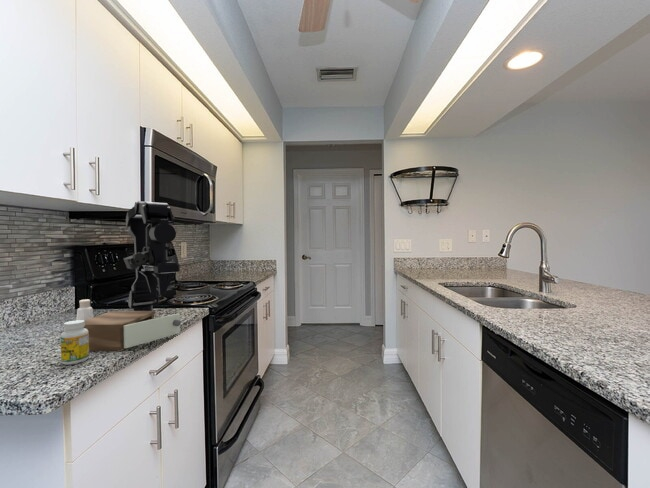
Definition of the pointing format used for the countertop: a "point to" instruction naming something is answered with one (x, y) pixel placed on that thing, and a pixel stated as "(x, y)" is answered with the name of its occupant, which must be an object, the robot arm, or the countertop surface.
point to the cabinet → (112, 328)
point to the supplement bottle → (74, 343)
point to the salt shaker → (84, 310)
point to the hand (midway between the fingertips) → (157, 294)
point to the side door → (151, 330)
